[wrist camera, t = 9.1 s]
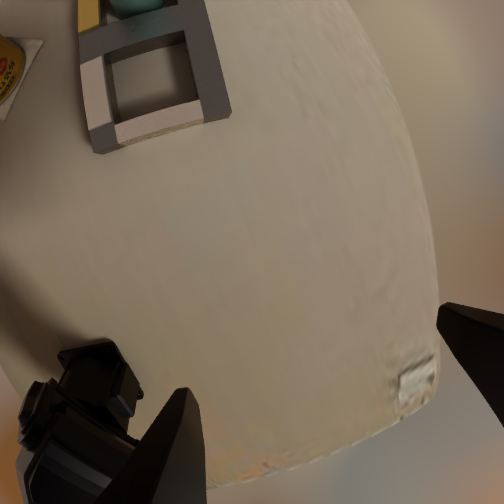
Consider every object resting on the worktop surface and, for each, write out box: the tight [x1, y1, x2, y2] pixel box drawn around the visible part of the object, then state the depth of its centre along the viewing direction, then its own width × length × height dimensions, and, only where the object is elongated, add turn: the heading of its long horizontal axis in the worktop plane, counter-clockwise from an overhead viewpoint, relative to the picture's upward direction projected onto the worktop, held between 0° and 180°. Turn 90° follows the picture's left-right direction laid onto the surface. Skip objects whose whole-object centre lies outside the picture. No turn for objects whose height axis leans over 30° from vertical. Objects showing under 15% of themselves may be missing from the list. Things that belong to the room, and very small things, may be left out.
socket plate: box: [78, 0, 232, 154], centre depth 14 cm, size 9×16×2 cm, turn 12°
